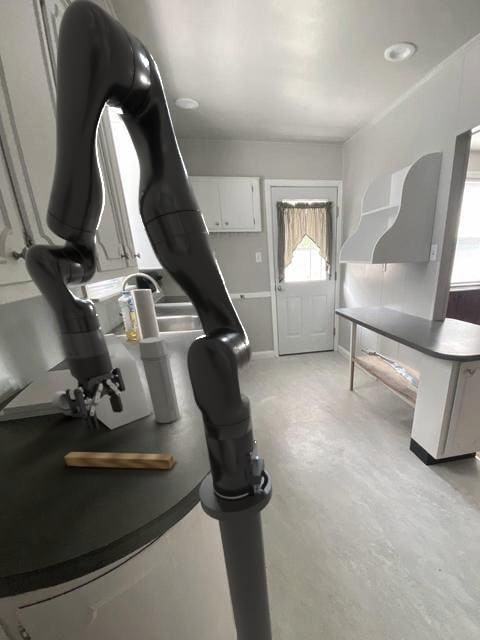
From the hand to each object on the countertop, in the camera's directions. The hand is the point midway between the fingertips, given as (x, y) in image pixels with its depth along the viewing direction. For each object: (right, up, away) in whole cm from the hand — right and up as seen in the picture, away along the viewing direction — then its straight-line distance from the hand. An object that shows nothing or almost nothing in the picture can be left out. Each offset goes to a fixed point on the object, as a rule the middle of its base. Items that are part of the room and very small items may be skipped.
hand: (107, 420), depth 68 cm
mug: (-27, -2, +30) cm, 40 cm away
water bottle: (+4, -3, +25) cm, 25 cm away
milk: (-11, -2, +28) cm, 30 cm away
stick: (+1, -11, +5) cm, 12 cm away
